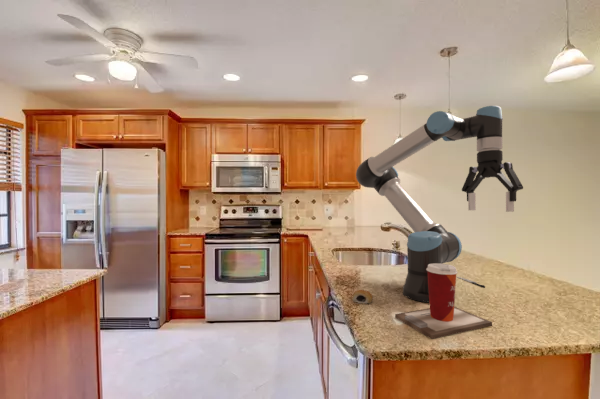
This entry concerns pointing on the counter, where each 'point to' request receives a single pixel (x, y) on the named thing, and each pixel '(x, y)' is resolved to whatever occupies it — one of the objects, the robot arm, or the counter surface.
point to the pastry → (362, 296)
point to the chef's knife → (472, 282)
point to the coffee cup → (441, 290)
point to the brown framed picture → (442, 322)
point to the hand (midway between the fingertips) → (489, 211)
